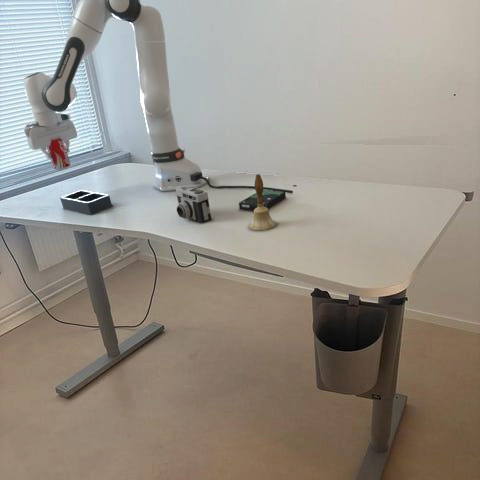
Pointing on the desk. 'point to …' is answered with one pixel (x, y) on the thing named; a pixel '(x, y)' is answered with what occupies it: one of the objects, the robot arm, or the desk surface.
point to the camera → (193, 204)
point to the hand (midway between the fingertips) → (58, 155)
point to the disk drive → (268, 200)
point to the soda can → (58, 154)
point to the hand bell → (261, 210)
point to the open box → (86, 202)
